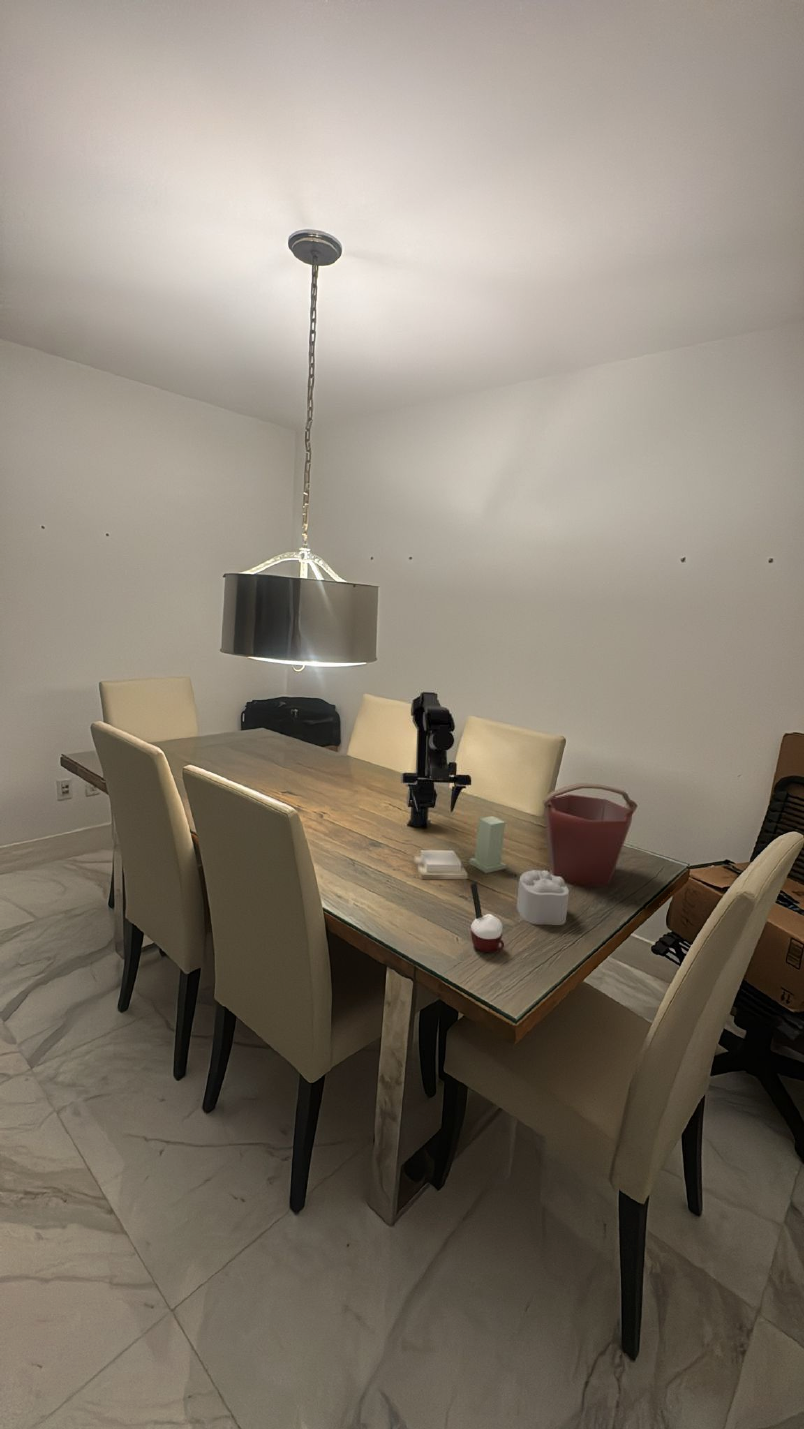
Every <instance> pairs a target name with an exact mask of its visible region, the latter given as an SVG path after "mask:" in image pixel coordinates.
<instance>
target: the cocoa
mask: <svg viewBox="0 0 804 1429" xmlns="http://www.w3.org/2000/svg"><path fill="white" fill-rule="evenodd" d="M470 889H471V893H472V894H471V895H472V900H473V906H474V911H475V919H474V920H473V921H472V923H471V926H470V930H471V931H470V936H471V941H472V944H473V946H474V948H476V949H477V950H478V951H480V952H484V953H492V952H500V951H501V950H503V949H504V948H505V941H503V940H502V937H503V923H502V921H500V919H499V918H498V917H496V916H494V915H493V914H491V913H487V914H485V915H483V913H482V908H481V902H480V896H479V890H478V884H477V882H476V881H475V882H472V883H471V884H470ZM500 945H501V946H500ZM499 946H500V947H499Z"/></svg>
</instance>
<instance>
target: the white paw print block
mask: <svg viewBox="0 0 804 1429" xmlns="http://www.w3.org/2000/svg"><path fill="white" fill-rule="evenodd" d="M565 882H566V881H564V880H563V878H562V877H559V876H558V877H557V876H554V875H553V874H551V873H550V872H549V871H548V870H536V869H532V870H528V871H524V872H523V873H522V874H521V875H520V877H519V882H518V890H517V898H516V899H517V900H516V909H517V911H518V913H519V914H520V916H521V917H522V919H523V920H524V921H526V922H528V923H530V924H531V925H532V924H533V925H552V926H553V925H554V926H562V925H564V924H565V923H566V920H567V914H568V913H567V911H568V905H569V897H570V896H569V895H570V890H569V888H568V886H567V885H566V883H565Z"/></svg>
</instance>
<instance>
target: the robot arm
mask: <svg viewBox="0 0 804 1429" xmlns="http://www.w3.org/2000/svg"><path fill="white" fill-rule="evenodd" d="M450 712H451V711H450V710H449V709H448V708H447V707H444V706H442V705H441V703H440V700H439V699H438V693H436V692H431V691H429V692H428V691H423V692H420V695H419V696H417V697H416V698H414V699H413V700H412V703H411V706H410V716H411V717H412V723H413V726H414V727H415V729H416V751H415V752H416V758H415V759H416V761H415V772H403V773H402V774H401V776H400V784H405V787H408V790H407V794H406V806H407V808H410V816H409V818H410V819H409V820H408V822H407V823H406V826H408V827H415V828H421V829H422V828H423V829H428V827H429V825H430V824H431V820H429V812H430V811H429V810H430V809H435V807H436V803H437V798H438V793H437V790H436V789H435V783H440V784H442V783H443V784H453V785H452V786H451V794H450V807H449V808H450V813H453V812H454V809H455V806H456V804H457V801H458V798H459V796H460V793H461V792H462V791H463V789H467V786H472V776H470V774H457V772H458V764H457V762H455V761H454V762H453V761H450V762H448V751H449V750H450V749H451V748H452V747H453V746H454V744H455V738H454V735H453V733H454V731H455V730H456V729H455V728H456V725H455V720H454V717H453V715H452V713H450Z"/></svg>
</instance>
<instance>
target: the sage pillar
mask: <svg viewBox="0 0 804 1429" xmlns="http://www.w3.org/2000/svg"><path fill="white" fill-rule="evenodd" d="M477 821H478V823H477V834H476V844H475V853H474V854H475V855H474V857H472V858H469V864H470V865H472V866H474V867H475V868H477V869H478V870H480V871H482V872H483V873H485V874H488V873H492V872H496V871H501V870H502V871H503V870H505V869H506V868H507V864H506V863H504V862H502V856H503V848H504V846H503V845H504V836H505V827H506V821H504V820H501V819H500V818H497V817H495V816H493V815H492V816H487V817H486V816H485V817H480V818H478V820H477Z"/></svg>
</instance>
